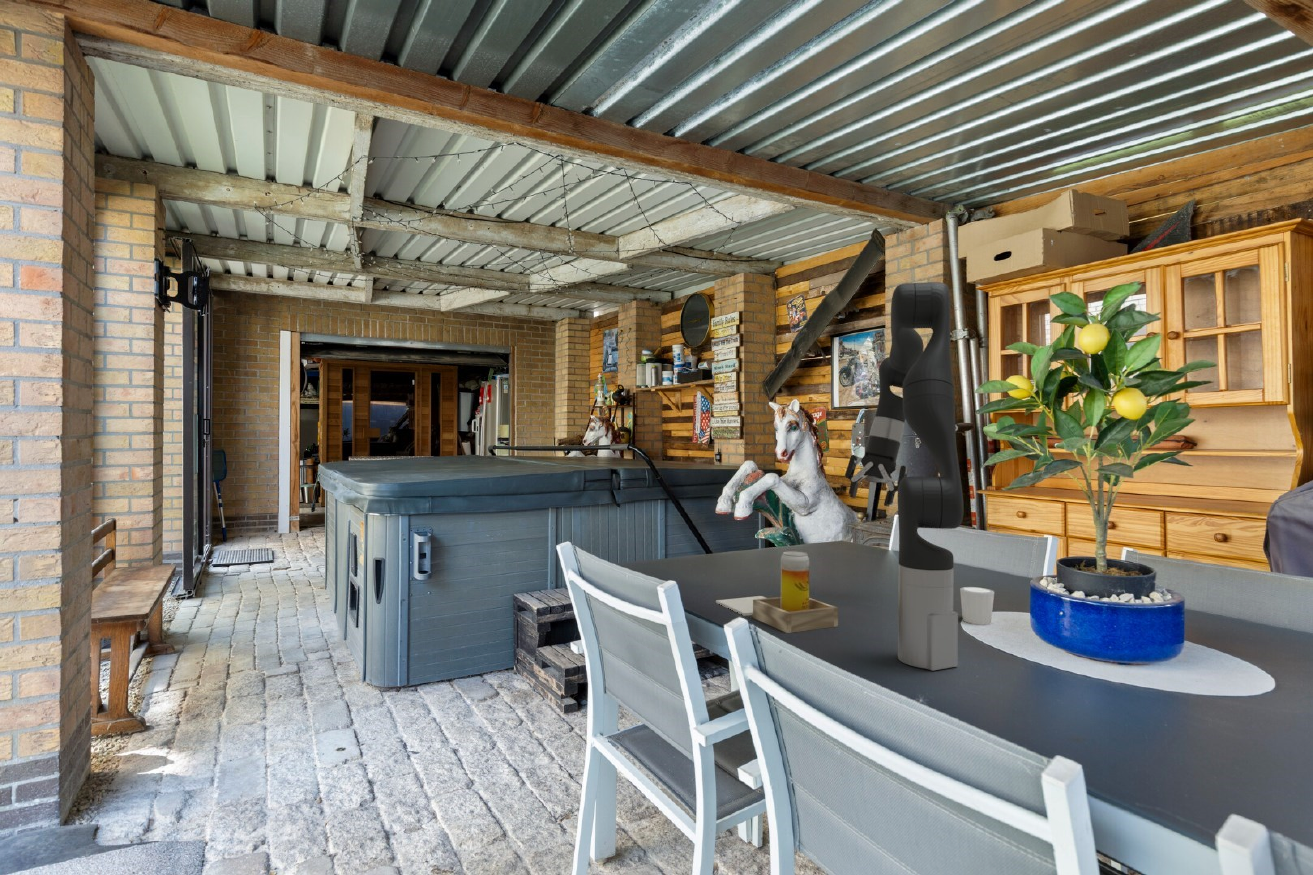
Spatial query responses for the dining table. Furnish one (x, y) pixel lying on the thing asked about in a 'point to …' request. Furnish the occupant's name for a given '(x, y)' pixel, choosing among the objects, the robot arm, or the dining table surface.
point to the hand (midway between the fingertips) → (869, 501)
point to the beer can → (794, 581)
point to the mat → (740, 604)
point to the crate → (795, 615)
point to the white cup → (977, 605)
